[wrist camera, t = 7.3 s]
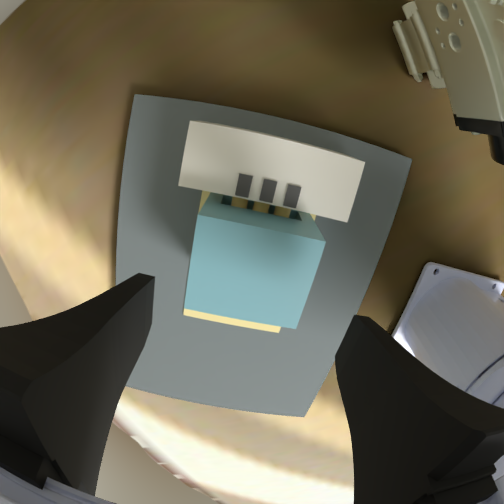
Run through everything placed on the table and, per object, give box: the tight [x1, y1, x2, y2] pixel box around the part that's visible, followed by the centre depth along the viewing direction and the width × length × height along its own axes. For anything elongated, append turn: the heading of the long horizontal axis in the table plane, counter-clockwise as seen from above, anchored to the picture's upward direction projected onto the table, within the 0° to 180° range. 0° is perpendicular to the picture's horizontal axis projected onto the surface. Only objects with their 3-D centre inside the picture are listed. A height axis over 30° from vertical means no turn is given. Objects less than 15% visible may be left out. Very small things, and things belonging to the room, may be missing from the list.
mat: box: [116, 94, 412, 417], centre depth 20 cm, size 16×22×1 cm
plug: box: [184, 192, 326, 329], centre depth 16 cm, size 5×5×5 cm
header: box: [178, 121, 365, 222], centre depth 15 cm, size 8×6×3 cm
